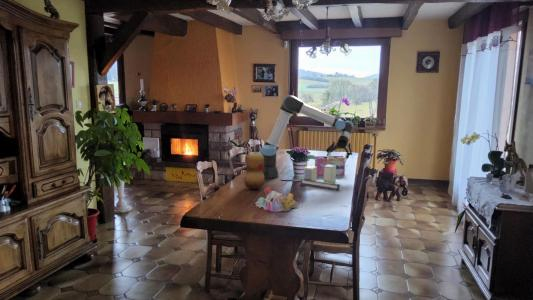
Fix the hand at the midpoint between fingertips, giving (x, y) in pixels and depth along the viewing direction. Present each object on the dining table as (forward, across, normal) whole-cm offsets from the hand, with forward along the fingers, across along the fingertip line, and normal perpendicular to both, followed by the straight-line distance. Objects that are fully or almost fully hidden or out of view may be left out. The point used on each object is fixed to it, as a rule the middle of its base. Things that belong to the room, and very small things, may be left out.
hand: (335, 160), depth 279 cm
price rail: (+30, 0, +10) cm, 32 cm away
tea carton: (+17, 0, -3) cm, 17 cm away
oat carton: (+26, +10, +6) cm, 28 cm away
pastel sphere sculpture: (+66, +5, +46) cm, 81 cm away
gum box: (0, +10, -20) cm, 23 cm away
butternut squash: (+50, +35, +30) cm, 68 cm away
